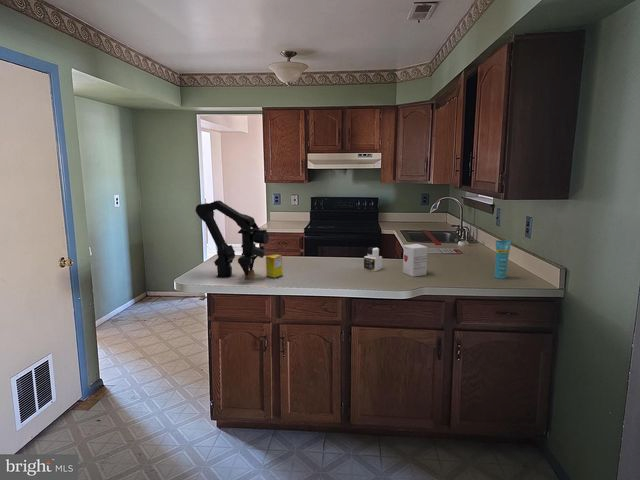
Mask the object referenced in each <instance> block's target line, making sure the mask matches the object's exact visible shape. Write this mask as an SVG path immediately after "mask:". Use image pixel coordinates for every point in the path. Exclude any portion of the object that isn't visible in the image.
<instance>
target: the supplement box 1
mask: <svg viewBox="0 0 640 480" xmlns="http://www.w3.org/2000/svg"><path fill="white" fill-rule="evenodd" d="M265 263H266V265H265V267H266V270H265V271H266V277H267V278H270V279H273V280H274V279H277V278H281V277H283V256H282V255H281V254H275V253H273V254H270V255H266V256H265Z"/></svg>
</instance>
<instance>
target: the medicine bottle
mask: <svg viewBox="0 0 640 480" xmlns="http://www.w3.org/2000/svg"><path fill="white" fill-rule="evenodd" d="M379 254H380V248H378V247H376V246H370V247H367V255H365V256H363V270H366V271H371V272H377V271H380V270H382V269H383V256H381V255H379Z"/></svg>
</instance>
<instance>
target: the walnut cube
mask: <svg viewBox="0 0 640 480" xmlns="http://www.w3.org/2000/svg"><path fill="white" fill-rule="evenodd" d="M243 273H244V272H243ZM254 278H255V270H254V269H253V270H250V269H249V273H248V276H246V275H245V273H244V280H247V281H253V280H254Z"/></svg>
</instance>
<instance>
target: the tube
mask: <svg viewBox="0 0 640 480" xmlns="http://www.w3.org/2000/svg"><path fill="white" fill-rule="evenodd" d="M511 244H512V240H511V239H510V240H495V268H494V270H495V271H494V277H495V278H496V279H501V280H502V279H503V280H505V279H506V277H507V269H508V261H509V254H510V250H511Z"/></svg>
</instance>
